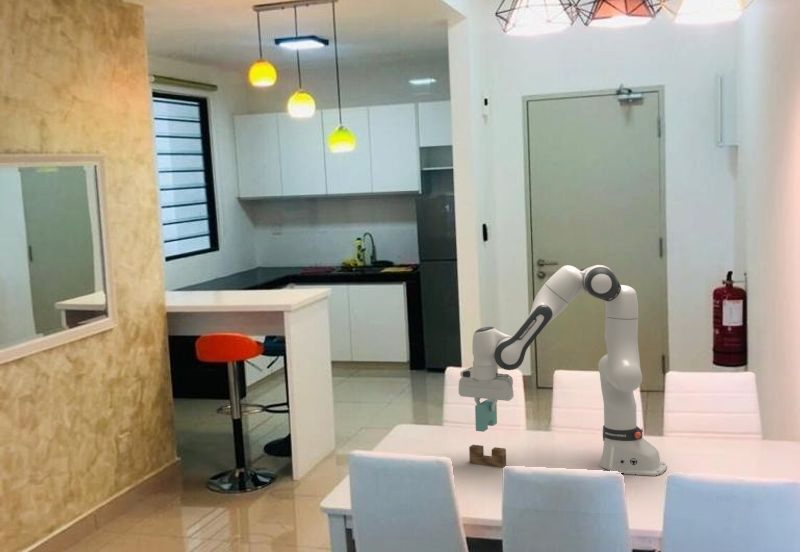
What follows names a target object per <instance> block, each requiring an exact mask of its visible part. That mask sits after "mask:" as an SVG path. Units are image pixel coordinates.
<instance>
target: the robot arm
mask: <svg viewBox="0 0 800 552" xmlns="http://www.w3.org/2000/svg"><path fill="white" fill-rule="evenodd" d="M581 293H586V294H588V295H590V296H592V297H594V298H596V299H599V300H603V301H604V302H605V318H604V319H605V321H604V322H605V324H604V342H605V346H606V354H605V355H603V356H602V357H601V358H600V359H599V361H598V366H597V368H598V372H599V378H600V379H599V381H600V389H601V395H602V399H603V401H602V402H603V422H604V424H603V426H602V441H603V448H602V454H601V458H600V459H601V460H600V463H599V465H600V467H601V468H603V469H605V470H608V471H609V470H611V471H618V472H622V473H624V474H623V475H635V474H636V475H639V476H652V477H657V476H660V475H662V474H664V473H665V472H666V471H667V469H668V468H667V467H668V465H667V463H666V462H665V461H661V458H660V454H659V453H660V452H659V450H658V449H657V447H655V446H654V445H653V444H651V443H650V442H649V441H647V439H646V438H644V437H643V432H644V428H643V427H642V428H640V427H639V426H638V424H637V403H636V398H635V395H634V391H636V390H638V388H640V386H641V384H642V382H643V373H642V369H641V360H640V351H639V343H638V340H639V339H638V335H639V302H638V295H637V291H636V289H634V288H633V287H632V286H630V285H627V284H626V285H625V284H620V282H619V280H618V278H617V276H616V275H615V272H613V270H611V268H609V267H608V266H606V265H601V264H593V265H590V266H587V267H585V268H582V269H579V268H577V267H575V266H573V265H570V264H569V265H568V264H566V265H563V266H562V267H560V268H559V269H557V271H556V272H555V273H554V274H552V275H551V276H550V277H549V278H548V279H547V281H546V282H545V283H544V284H543V285H542V287H541V288H540V289H539V290H538V292H537V294H536V296H535V297H534V300H533V302H532V303H533V304H532V305H531V306H532V307H531V310H530V312H529V315H528V317H527V318H526V319H525V321H524V322H523V324H521V326H520V327H519V329H518V330H516V332H515V333H514V335H510V334H506V333H504V332H502V331H500V330H498V329H497V328H496V327H494V326H485V327H480V328H478V329H476V330H475V332H473V336H472V345H471V346H472V349H471V350H472V355H473V361H472V366H471V367H469V368H466V369H463V370H461V371H460V372H459V374H460V378H459V380H458V394H459V396H460V397H463V398H464V397H465V398H474V402H475V404H476V405H478V404H480V403H481V401H480V400H481V399H483V400H485V399H486V400H487V399H492V402H493V404H492V405H491V406H489V411H495V405H496V403H497V402H498V401H506V402H508V401H511V400H513V398H514V388H513V386H514V385H513V384H514V381H513V380H514V379H513V377H512V376H511V375H509V374H508V373H499V371H498V370H499V369H498V368H501V369H503V370H506V371H513V370H516V369H518V368H520V367H521V366H522V363H523V362H524V360H525V356H526V353H527V350H528V348H529V347H530V346H531V344H532V343H533V341H534V340H536V338H537V337H538V335H540V333H541V332H542V331H543V329H544V328H545V327H546V326H548V324H550V323H551V322H552V321H553V320H554V319H556V318H557V317H558V316H559V315H560V314H562V313H563V311H564V310H565V309H566V308H567V307H568V306H569V305H570V304H571V303H572V302H573V300H574V299H575V298H576V297H577V296H578V295H579V294H581ZM497 404H498V403H497ZM666 468H667V469H666ZM665 470H666V471H665ZM664 471H665V472H664ZM663 472H664V473H663ZM659 474H660V475H659ZM656 475H657V476H656Z"/></svg>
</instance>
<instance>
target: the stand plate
mask: <svg viewBox="0 0 800 552" xmlns="http://www.w3.org/2000/svg"><path fill="white" fill-rule="evenodd" d="M468 449H469V451H468V452H469V455H468V456H469V463H470V464H474V465H481V466H482V465H483V466H491V467H497V468H504V467H506V466H507V448H505V447H493V448H492V449H491V455H486V454H485V453H484V452H485V451H484V445H479V444H471V445H470V446H469V448H468ZM503 466H504V467H503Z"/></svg>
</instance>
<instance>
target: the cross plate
mask: <svg viewBox="0 0 800 552" xmlns="http://www.w3.org/2000/svg"><path fill="white" fill-rule="evenodd" d="M492 404H493V402H492V399H486V400H485V399H484V400H483V401H482V402H481V401H480V404H478V405H477V404H476V405H475V406H474V410H475V412H474V413H475V431H476V432H486V431H487V430H489V427H490V426H491V427H493V426H495V425H497V424H498V415H497V414H498V412H497V411H498V407H497V406H498V405H497V404H498V403H496V405H495V411H489V406H491V405H492Z"/></svg>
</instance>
